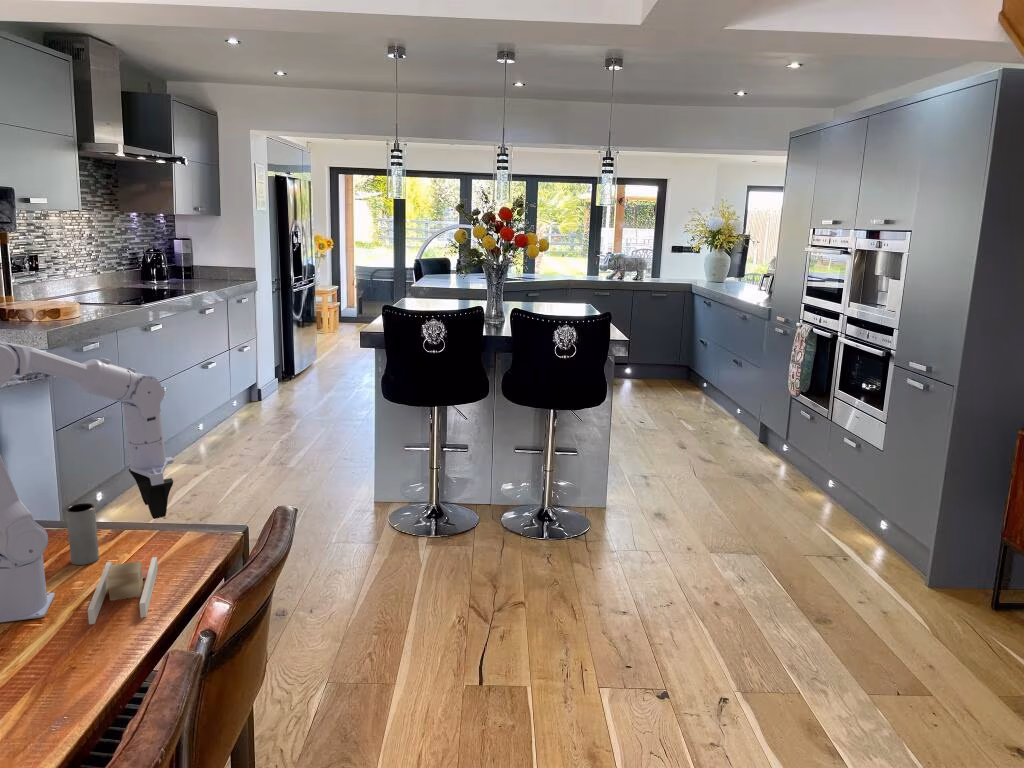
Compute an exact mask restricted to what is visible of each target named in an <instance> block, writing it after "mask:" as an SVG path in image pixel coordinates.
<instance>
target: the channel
mask: <svg viewBox="0 0 1024 768" xmlns="http://www.w3.org/2000/svg"><path fill="white" fill-rule="evenodd" d="M112 564H113V561H107V562H106V564H105V566H104V568H103V571H102V573H101V575H100V578H99V581H98V583H97V585H96V588H95V591H94V593H93V596H92V598H91V600H90V602H89V606H88V608H87V617H88V619H87V620H88V625H95V624H96V621H97V619H98V616H99V613H100V611H101V609H102V605H103V602H104V600H105V598H106V594H107V592H108V591H109V584H108V574H109V571H110V569H111V566H112ZM158 567H159V566H158V556H153V557H151V560H150V563H149V567H148V569H149V571H148V574H147V578H146V579H145V583H144V584H143V588H142V592H141V595H140V601H139V612H140V613H139V614H140V618H141V619H143V617H145V618H147V615H148V611H149V608H150V604H151V599H152V597H153V596H152V595H153V591H154V587H155V584H156V578H157V576H158V571H159V568H158Z"/></svg>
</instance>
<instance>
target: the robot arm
mask: <svg viewBox="0 0 1024 768" xmlns="http://www.w3.org/2000/svg"><path fill="white" fill-rule="evenodd" d="M30 372H37V373H42V374H46V375H49V376H54V377H57V378H61V379H65V380H68V381H72V382H73V381H74V382H75V383H76V385H77V389H78V390H80V392H83V393H86V394H89V395H93V396H96V397H97V396H98V397H101V398H103V399H108V400H112V401H116V402H120V403H121V404H123V405H122V406H123V415H124V421H125V429H126V435H127V437H126V438H127V443H128V452H129V459H130V464H129V469H128V472H129V473H130V475H131V476H132V477H133V479H134V480H135V482H136V486H137V487H138V489H139V493H140V495H141V496H140V497H141V498H142V501H143V503H144V505H145V506H148V509H149V513H150V515H151V517H152V519H153V520H157V519H161V518H164V517H166V515H167V510H168V501H169V495H170V492H171V489H172V487H173V485H174V480H173V478H172V477H169V478H165V479H164V473H165V470H166V469H167V467H168V465H171V464H174V458H173V457H172V456H169V457H166V456H167V455H166V449H165V447H166V446H165V442H164V441H165V439H164V431H163V425H162V423H163V422H162V417H161V415H162V414H161V412H162V411H161V404H162V401H163V399H164V397H165V392H166V388H163V386H162V384H161V382H160V381H159V380H158V379H157V377H155V376H154V375H153V376H152V375H148V374H143V373H139V372H137V369H136V368H133V367H130V366H127V368H125V367H121V366H119V365H114V364H113V363H112V362H111V359H108V358H105V357H99V358H98V359H96V358H92V359H89V360H86V361H84V362H82V363H80V362H78V361H75V360H71V359H69V358H66V357H62V356H60V355H56V354H54V353H50V352H47V351H44V350H41V349H38V348H35V347H32V346H28V345H24V344H19V343H12V342H6V341H0V388H1V387H2V386H4V385H5V384H6V383H8V382H9V381H10V380H11V378H13V377H14V376H15V375H16V376H19V377H21V376H24V375H26V374H28V373H30ZM32 514H33V513H31V512H30V510H29V509H28V508H27V507H26V506H25V504H24V503H23V502H22V501H21V499H20V498H19V495H18V493H17V490H16V488H15V486H14V483H13V481H12V479H11V476H10V475H9V472H8V470H7V467H6V465H5V462H4V460H3V458H2V456H1V454H0V623H7V622H15V621H22V620H25V621H26V620H30V619H31V620H32V619H39V618H43V617H45V616H46V614H47V613H48V610H49V608H50V607H51V604H52V602H53V601H54V599H55V596H56V593H55V592H48V593H47V583H46V573H45V566H44V565H45V564H44V552H45V551H46V549H47V547H48V543H49V535H48V532H47V530H46V528H44V527H43V526H41V525H40V524H39V523H37V522H36V520H35V519H34V517H33V515H32Z"/></svg>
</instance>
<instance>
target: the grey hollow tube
mask: <svg viewBox="0 0 1024 768" xmlns="http://www.w3.org/2000/svg"><path fill="white" fill-rule="evenodd" d="M65 510H66V511H65V513H66V523H67V524H66V525H67V532H68V543H69V553H70V562H71V564H73V565H77V566H82V565H84V566H85V565H90V564H92V563H94V562H97V561H99V559H100V552H99V542H98V540H99V539H98V528H97V519H96V516H97V515H96V507H95V505H94V503H90V502H89V503H88V502H87V503H86V502H85V503H76V504H72V505H70V506H68V507H67V508H66V509H65Z"/></svg>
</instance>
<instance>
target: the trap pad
mask: <svg viewBox="0 0 1024 768" xmlns="http://www.w3.org/2000/svg"><path fill="white" fill-rule="evenodd" d="M148 571H149V568H148V569H142V577H143V579H144V580H146V578H147V574H148Z"/></svg>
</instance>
